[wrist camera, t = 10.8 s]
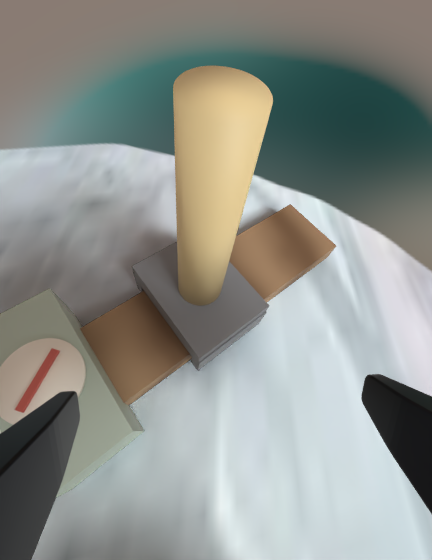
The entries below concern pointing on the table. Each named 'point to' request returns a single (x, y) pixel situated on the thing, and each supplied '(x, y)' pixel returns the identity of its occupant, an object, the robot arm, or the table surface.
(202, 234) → the grey block with handle
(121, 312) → the rail
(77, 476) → the gauge cabinet
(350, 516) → the table surface
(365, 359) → the table surface
